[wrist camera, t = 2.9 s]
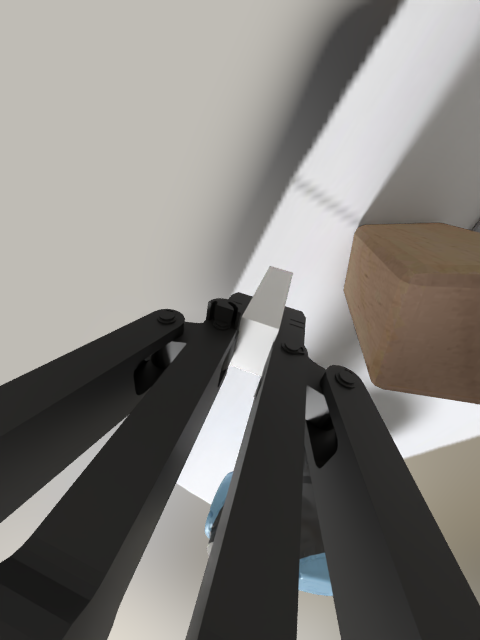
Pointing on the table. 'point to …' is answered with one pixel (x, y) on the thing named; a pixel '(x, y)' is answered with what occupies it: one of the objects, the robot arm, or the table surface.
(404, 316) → the wooden block
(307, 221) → the table surface
